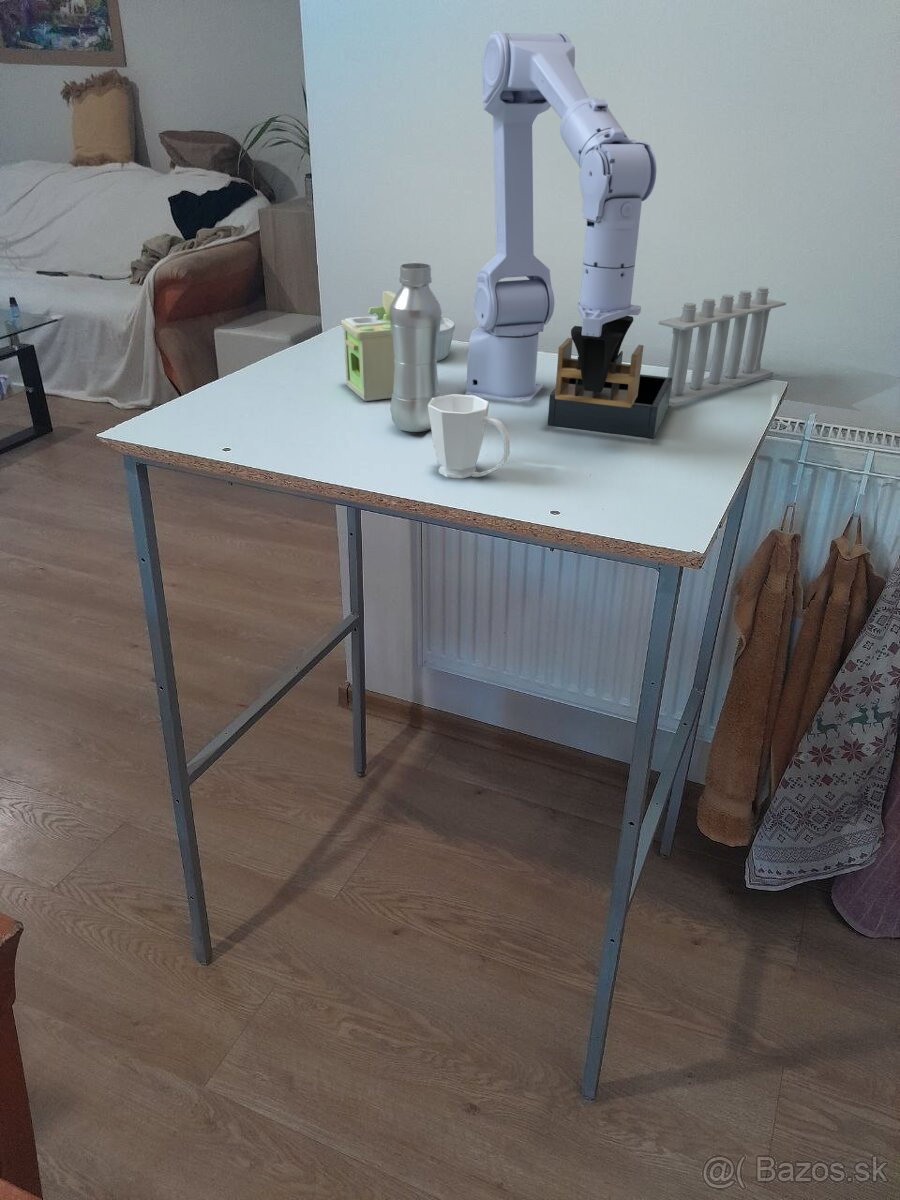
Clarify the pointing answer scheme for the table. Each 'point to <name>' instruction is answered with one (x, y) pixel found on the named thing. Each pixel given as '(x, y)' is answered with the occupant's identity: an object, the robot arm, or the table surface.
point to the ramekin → (445, 337)
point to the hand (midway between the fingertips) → (597, 384)
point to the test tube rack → (719, 344)
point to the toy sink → (370, 352)
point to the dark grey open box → (616, 410)
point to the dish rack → (615, 374)
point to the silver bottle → (414, 348)
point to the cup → (461, 433)
